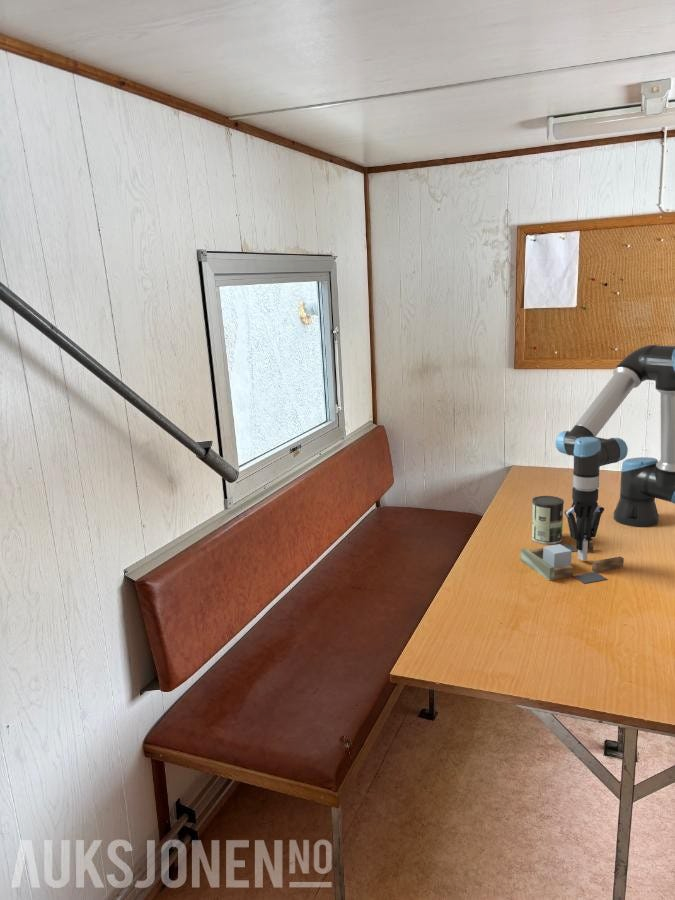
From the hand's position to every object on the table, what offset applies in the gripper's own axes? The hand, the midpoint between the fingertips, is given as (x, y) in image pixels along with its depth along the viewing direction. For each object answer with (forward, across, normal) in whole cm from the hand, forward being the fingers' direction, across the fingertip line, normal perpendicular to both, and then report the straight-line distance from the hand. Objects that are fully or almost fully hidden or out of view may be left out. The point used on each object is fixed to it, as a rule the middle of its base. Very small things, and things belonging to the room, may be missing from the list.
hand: (582, 558), depth 211 cm
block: (+1, +9, 0) cm, 9 cm away
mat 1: (+1, -1, -11) cm, 11 cm away
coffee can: (+1, -1, -21) cm, 21 cm away
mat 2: (+1, +5, +11) cm, 12 cm away
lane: (+1, +4, 0) cm, 4 cm away
